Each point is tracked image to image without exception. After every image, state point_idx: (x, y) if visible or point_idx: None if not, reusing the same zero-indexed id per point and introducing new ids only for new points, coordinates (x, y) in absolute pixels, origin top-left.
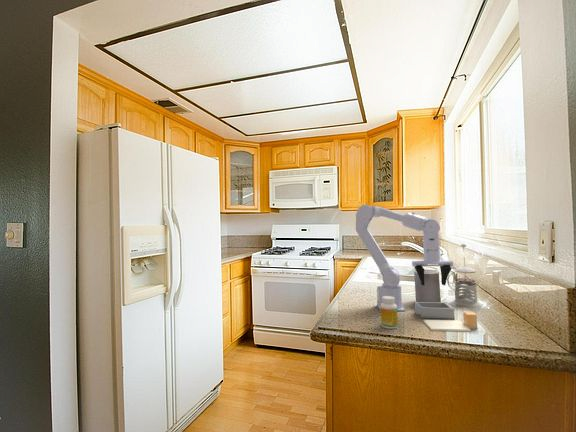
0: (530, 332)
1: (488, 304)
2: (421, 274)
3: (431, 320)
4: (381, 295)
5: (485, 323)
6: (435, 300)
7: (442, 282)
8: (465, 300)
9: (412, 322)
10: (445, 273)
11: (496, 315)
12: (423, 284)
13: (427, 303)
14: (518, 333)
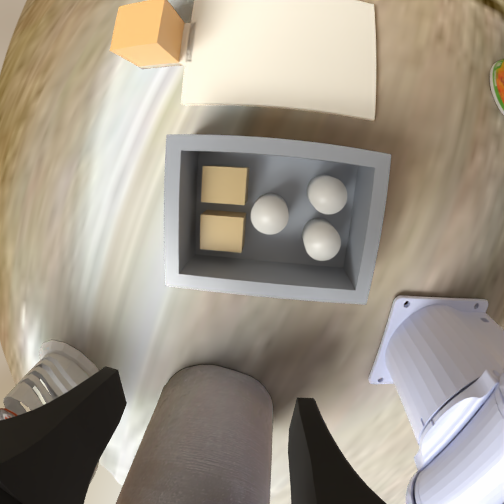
0: (19, 51)
1: (21, 347)
2: (348, 484)
3: (334, 102)
4: None
5: (81, 108)
6: (191, 384)
7: (114, 402)
8: (67, 368)
9: (426, 113)
10: (37, 431)
11: (17, 224)
12: (306, 402)
13: (289, 283)
14: (50, 27)
